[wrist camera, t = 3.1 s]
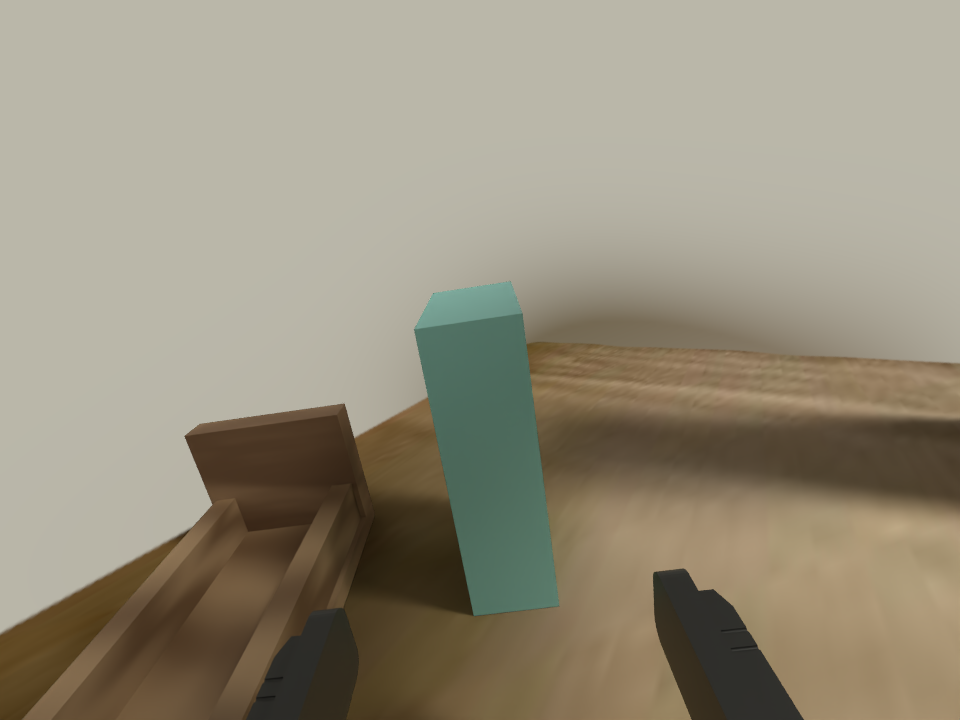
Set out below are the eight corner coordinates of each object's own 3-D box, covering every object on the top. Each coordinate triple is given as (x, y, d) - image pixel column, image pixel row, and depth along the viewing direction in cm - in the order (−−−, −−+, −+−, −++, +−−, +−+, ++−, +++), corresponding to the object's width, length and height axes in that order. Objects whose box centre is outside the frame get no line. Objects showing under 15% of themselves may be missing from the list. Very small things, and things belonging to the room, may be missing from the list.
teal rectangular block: (475, 517, 28) (433, 293, 23) (540, 509, 28) (510, 281, 23) (473, 616, 21) (414, 329, 17) (559, 606, 21) (522, 313, 16)
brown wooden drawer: (242, 531, 30) (199, 424, 28) (375, 514, 30) (344, 403, 27) (-69, 959, 13) (-257, 784, 10) (231, 936, 13) (112, 746, 10)
